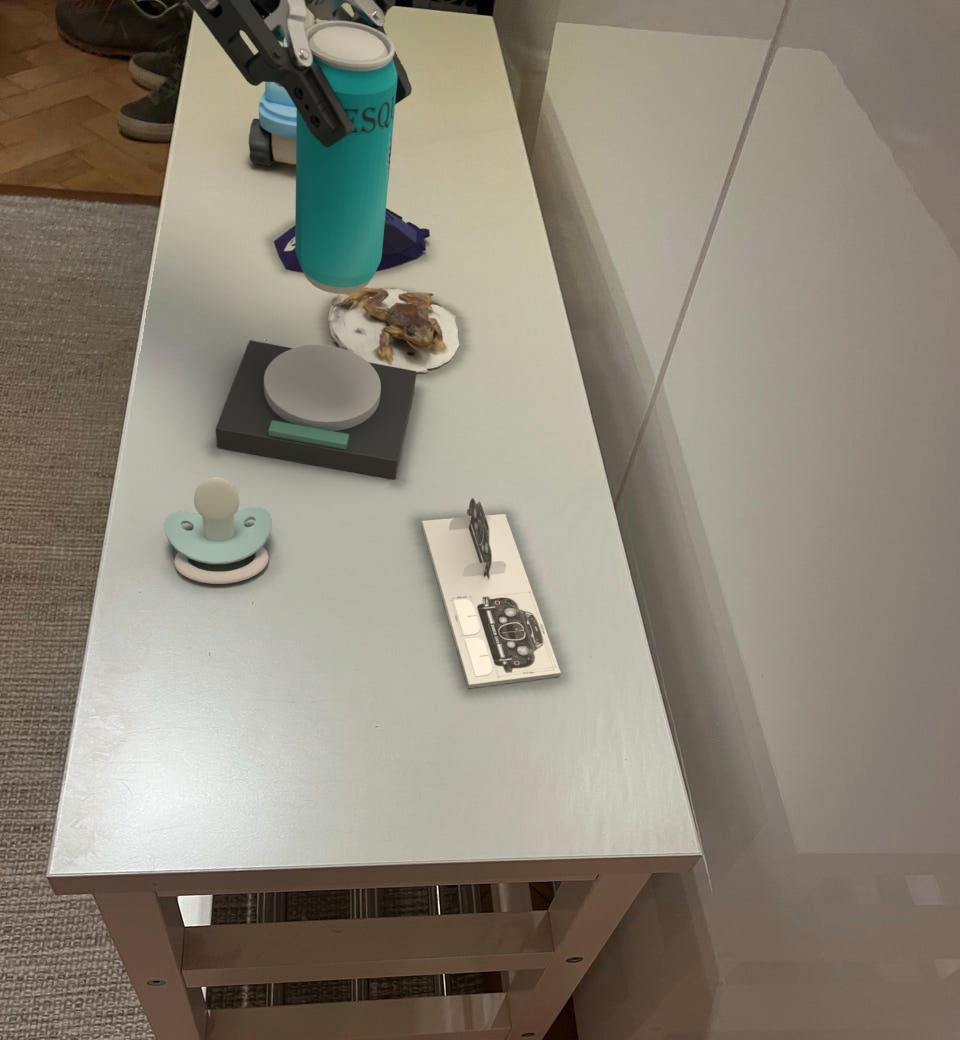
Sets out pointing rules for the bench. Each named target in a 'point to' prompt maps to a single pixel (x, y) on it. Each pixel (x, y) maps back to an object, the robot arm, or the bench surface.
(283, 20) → the robot arm
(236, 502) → the pacifier
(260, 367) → the scale
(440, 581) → the car cutout
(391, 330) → the frog figurine
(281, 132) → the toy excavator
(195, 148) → the bench surface
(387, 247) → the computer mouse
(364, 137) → the beverage can
